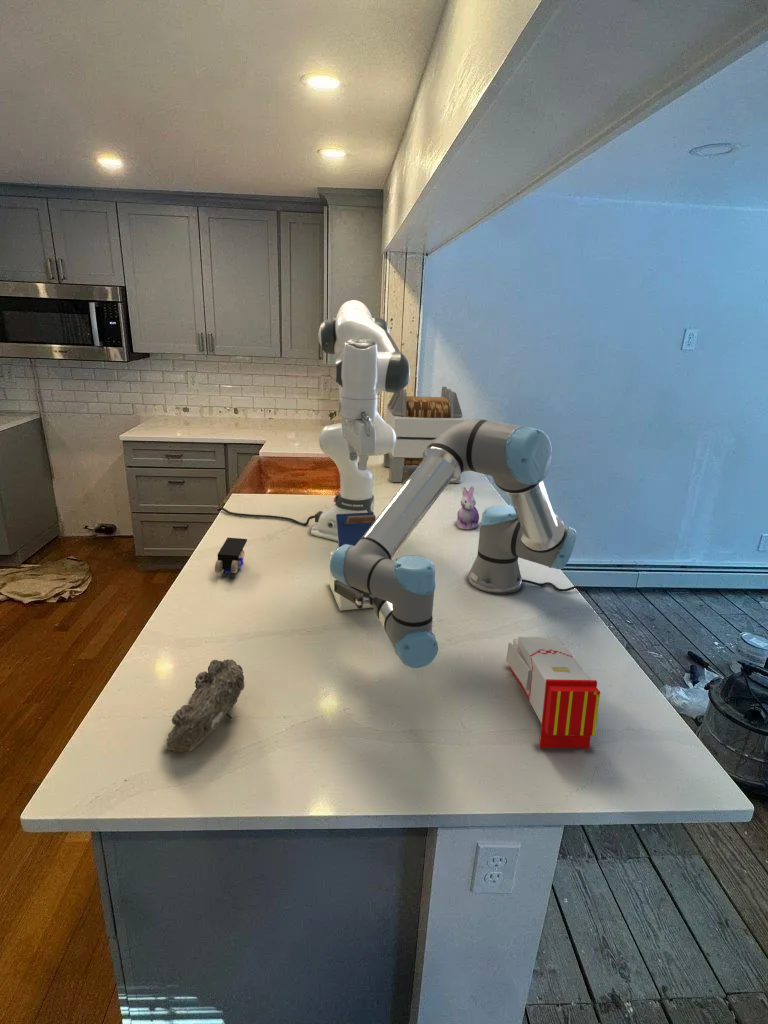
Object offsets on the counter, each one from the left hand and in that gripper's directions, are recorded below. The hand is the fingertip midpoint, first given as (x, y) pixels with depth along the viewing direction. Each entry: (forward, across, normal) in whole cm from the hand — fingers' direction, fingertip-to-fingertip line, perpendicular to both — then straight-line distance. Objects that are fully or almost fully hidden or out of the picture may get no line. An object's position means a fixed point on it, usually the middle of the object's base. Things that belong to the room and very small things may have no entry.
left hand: (357, 464), depth 141 cm
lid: (+20, -2, 0) cm, 20 cm away
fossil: (+38, -40, +37) cm, 66 cm away
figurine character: (+38, +24, +31) cm, 55 cm away
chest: (+38, +2, 0) cm, 38 cm away
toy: (+38, -50, -28) cm, 69 cm away
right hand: (+21, -16, 0) cm, 26 cm away
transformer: (+38, +116, -60) cm, 136 cm away
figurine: (+38, +46, -54) cm, 80 cm away
